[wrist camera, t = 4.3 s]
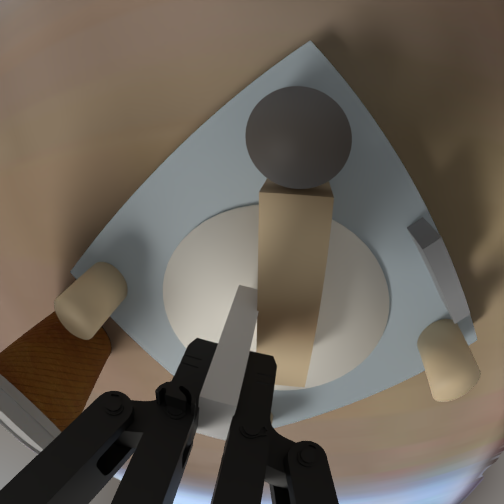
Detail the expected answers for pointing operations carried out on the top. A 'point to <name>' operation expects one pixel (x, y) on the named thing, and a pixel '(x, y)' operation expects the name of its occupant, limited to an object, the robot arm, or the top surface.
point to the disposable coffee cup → (48, 380)
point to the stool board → (246, 260)
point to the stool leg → (294, 218)
